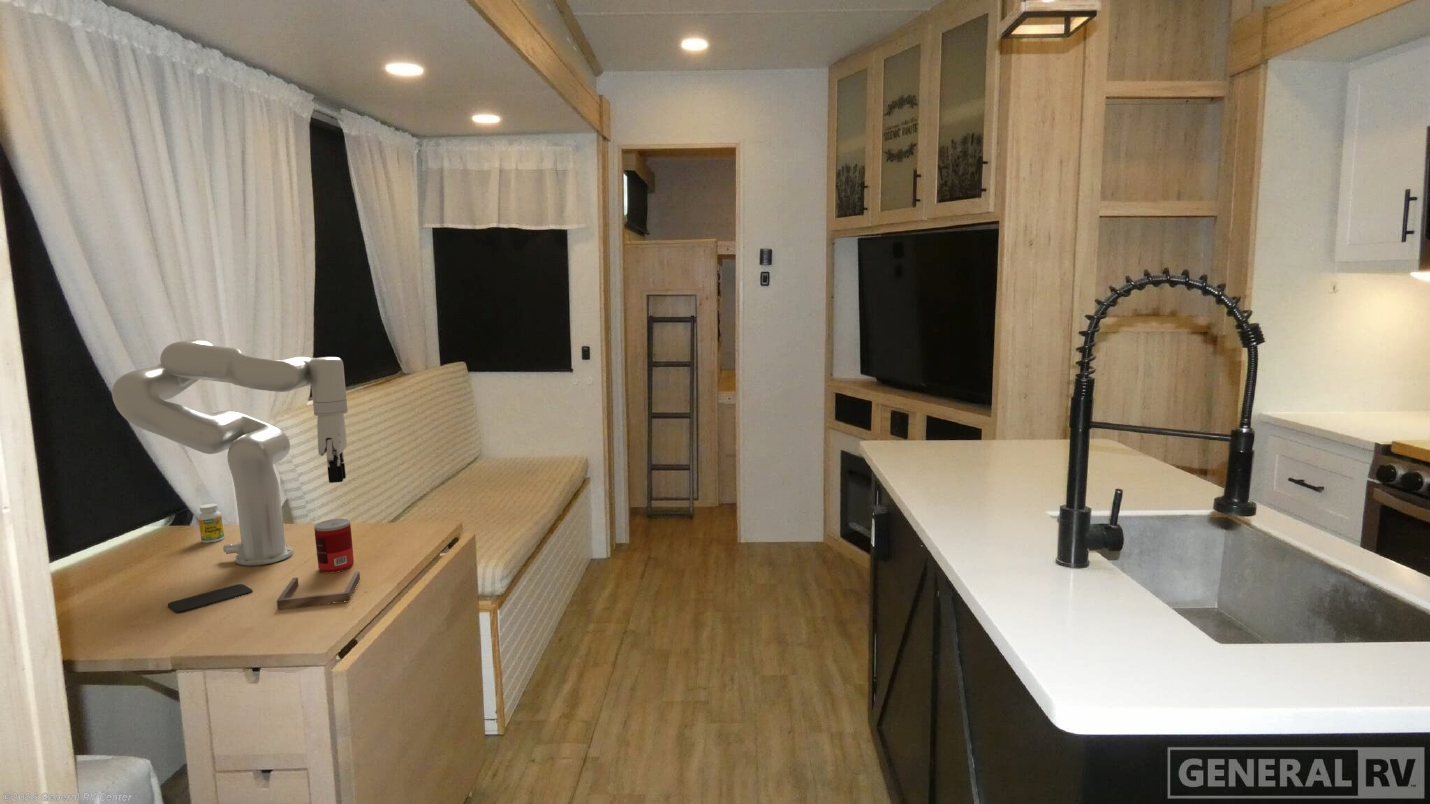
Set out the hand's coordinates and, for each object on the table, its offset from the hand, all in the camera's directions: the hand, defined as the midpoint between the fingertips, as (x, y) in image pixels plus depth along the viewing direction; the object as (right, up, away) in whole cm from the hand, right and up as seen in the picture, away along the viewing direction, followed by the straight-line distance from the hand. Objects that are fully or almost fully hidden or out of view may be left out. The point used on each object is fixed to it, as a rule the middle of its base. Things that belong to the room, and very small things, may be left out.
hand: (337, 479), depth 203 cm
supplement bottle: (-41, -18, +16) cm, 48 cm away
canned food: (+3, -21, -7) cm, 22 cm away
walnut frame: (+7, -23, -23) cm, 34 cm away
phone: (-16, -24, -24) cm, 38 cm away
